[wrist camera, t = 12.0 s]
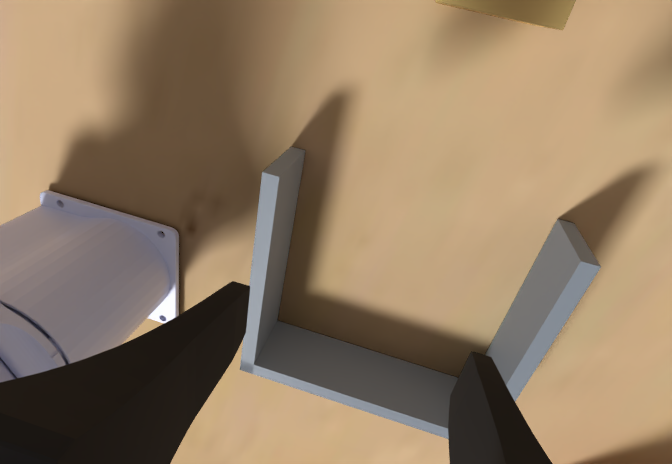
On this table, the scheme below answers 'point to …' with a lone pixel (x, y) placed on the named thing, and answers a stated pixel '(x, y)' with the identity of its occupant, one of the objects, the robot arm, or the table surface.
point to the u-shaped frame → (379, 369)
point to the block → (520, 10)
